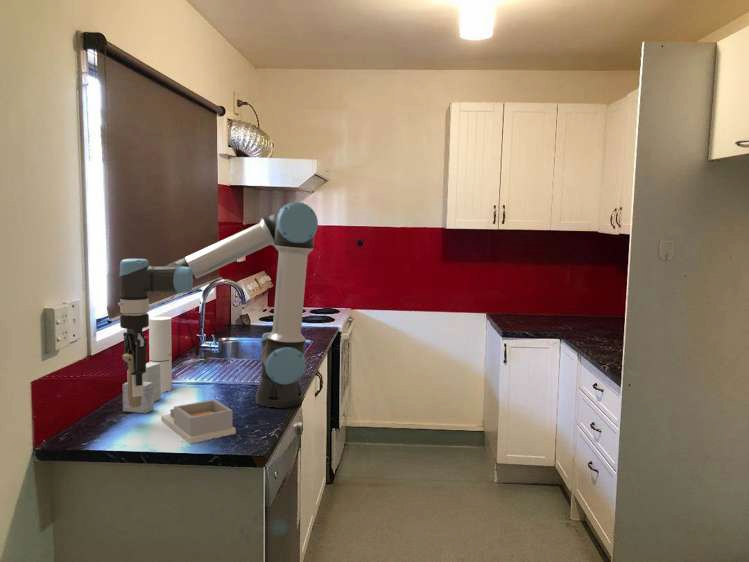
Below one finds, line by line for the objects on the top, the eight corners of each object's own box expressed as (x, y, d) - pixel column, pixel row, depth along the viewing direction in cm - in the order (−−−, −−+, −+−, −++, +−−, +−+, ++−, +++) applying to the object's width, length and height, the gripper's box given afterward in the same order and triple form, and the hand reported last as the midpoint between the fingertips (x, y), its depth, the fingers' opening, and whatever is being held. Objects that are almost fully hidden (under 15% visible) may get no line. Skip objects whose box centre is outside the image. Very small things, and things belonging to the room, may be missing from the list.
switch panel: (203, 412, 180) (203, 391, 179) (235, 433, 162) (235, 410, 162) (161, 420, 171) (161, 398, 171) (190, 443, 154) (189, 419, 154)
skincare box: (150, 397, 193) (149, 361, 192) (161, 398, 192) (160, 362, 191) (137, 402, 187) (137, 366, 186) (149, 404, 186) (148, 367, 185)
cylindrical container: (175, 387, 205) (175, 317, 202) (164, 393, 198) (164, 320, 195) (156, 386, 206) (156, 316, 204) (145, 392, 199) (144, 319, 197)
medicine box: (154, 409, 181) (153, 382, 180) (145, 414, 177) (145, 386, 176) (131, 407, 183) (131, 380, 182) (122, 411, 179) (122, 383, 178)
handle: (129, 402, 171) (128, 352, 170) (149, 404, 170) (149, 353, 169) (119, 407, 166) (119, 356, 165) (141, 409, 165) (140, 357, 164)
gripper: (112, 310, 170) (113, 389, 172) (129, 318, 157) (130, 403, 159) (138, 308, 175) (139, 385, 177) (158, 316, 161) (158, 399, 164)
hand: (135, 393), depth 168 cm, fingers closed on handle, 4 cm apart
